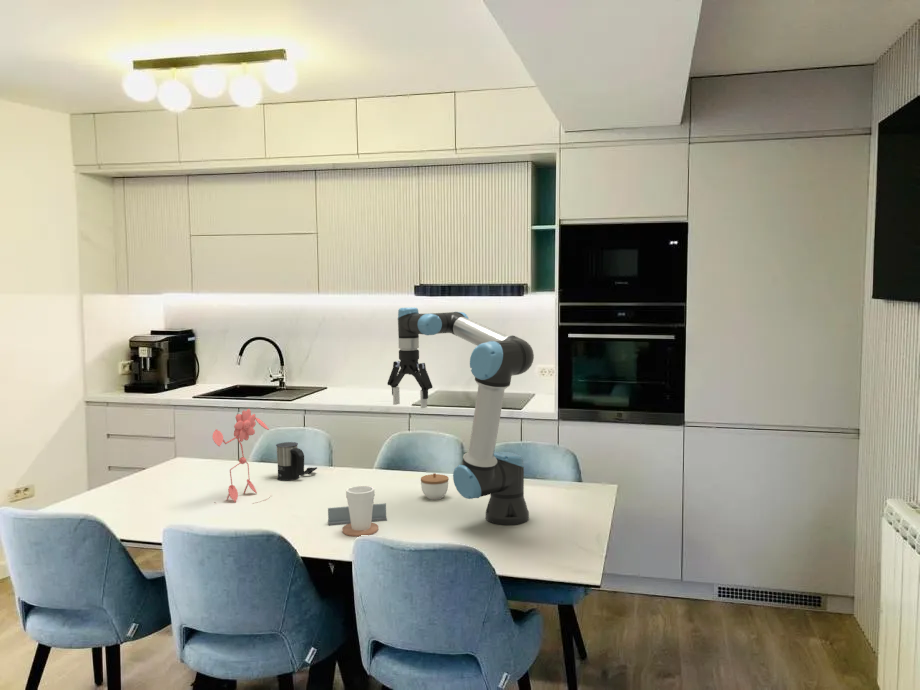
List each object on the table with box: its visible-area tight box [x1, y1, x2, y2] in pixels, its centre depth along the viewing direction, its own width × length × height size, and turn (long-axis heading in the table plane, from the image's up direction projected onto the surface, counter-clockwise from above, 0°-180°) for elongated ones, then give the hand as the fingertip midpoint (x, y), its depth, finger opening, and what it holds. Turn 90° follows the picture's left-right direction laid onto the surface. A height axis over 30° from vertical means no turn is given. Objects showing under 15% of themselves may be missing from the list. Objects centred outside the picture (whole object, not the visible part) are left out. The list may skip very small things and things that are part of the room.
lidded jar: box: [420, 472, 449, 501], centre depth 290 cm, size 11×11×9 cm
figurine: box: [212, 408, 272, 505], centre depth 290 cm, size 15×26×35 cm, turn 153°
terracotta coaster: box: [342, 522, 379, 537], centre depth 253 cm, size 12×12×1 cm
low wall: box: [327, 502, 388, 526], centre depth 263 cm, size 20×4×5 cm, turn 103°
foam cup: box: [345, 485, 376, 530], centre depth 253 cm, size 10×9×13 cm
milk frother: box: [275, 441, 318, 481], centre depth 323 cm, size 14×16×15 cm
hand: (409, 406), depth 281 cm, fingers open, 13 cm apart
